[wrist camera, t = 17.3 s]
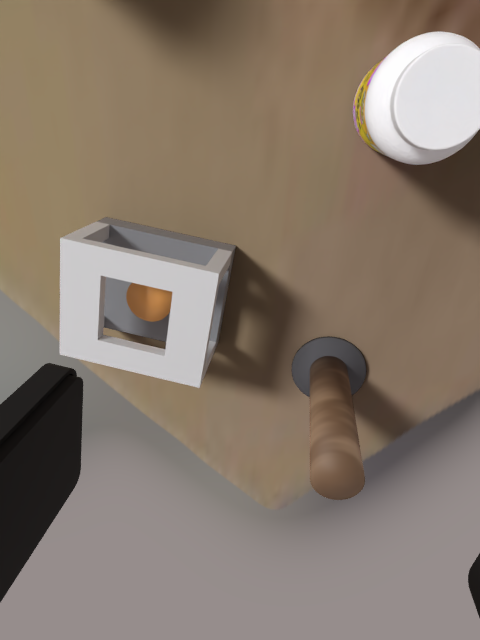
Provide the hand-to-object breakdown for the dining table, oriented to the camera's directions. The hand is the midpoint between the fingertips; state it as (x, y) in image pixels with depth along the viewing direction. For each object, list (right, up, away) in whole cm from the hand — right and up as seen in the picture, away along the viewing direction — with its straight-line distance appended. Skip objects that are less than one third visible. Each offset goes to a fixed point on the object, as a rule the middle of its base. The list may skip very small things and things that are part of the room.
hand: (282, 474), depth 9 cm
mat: (+8, -1, +33) cm, 34 cm away
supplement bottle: (+11, +19, +23) cm, 32 cm away
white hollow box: (-8, +7, +32) cm, 33 cm away
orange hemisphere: (-8, +6, +30) cm, 31 cm away
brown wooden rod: (+8, -2, +33) cm, 34 cm away
